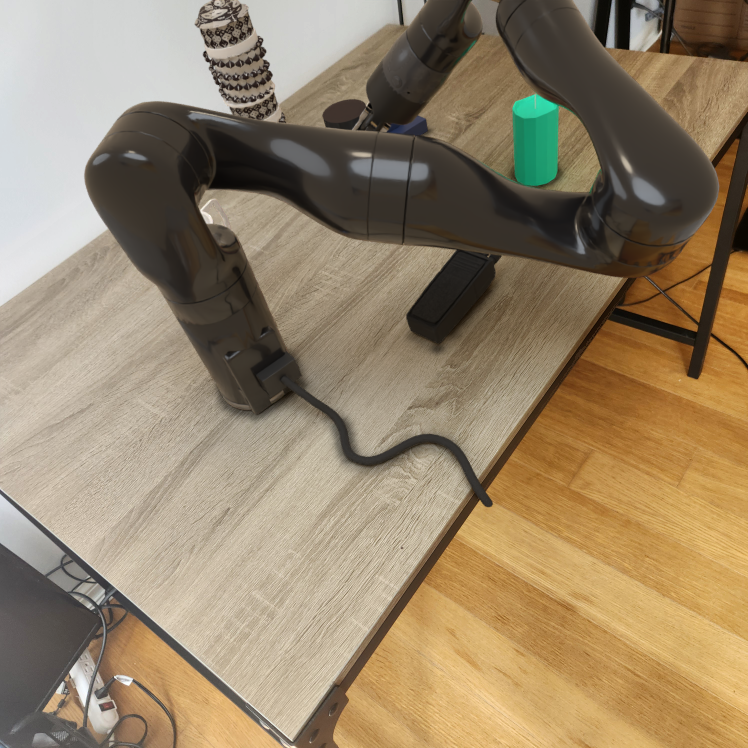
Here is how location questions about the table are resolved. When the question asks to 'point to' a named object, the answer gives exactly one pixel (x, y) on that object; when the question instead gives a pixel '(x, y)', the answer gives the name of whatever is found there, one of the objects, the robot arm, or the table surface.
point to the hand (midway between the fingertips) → (345, 158)
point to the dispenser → (411, 127)
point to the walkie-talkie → (451, 294)
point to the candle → (535, 140)
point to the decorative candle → (238, 60)
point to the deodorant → (343, 114)
